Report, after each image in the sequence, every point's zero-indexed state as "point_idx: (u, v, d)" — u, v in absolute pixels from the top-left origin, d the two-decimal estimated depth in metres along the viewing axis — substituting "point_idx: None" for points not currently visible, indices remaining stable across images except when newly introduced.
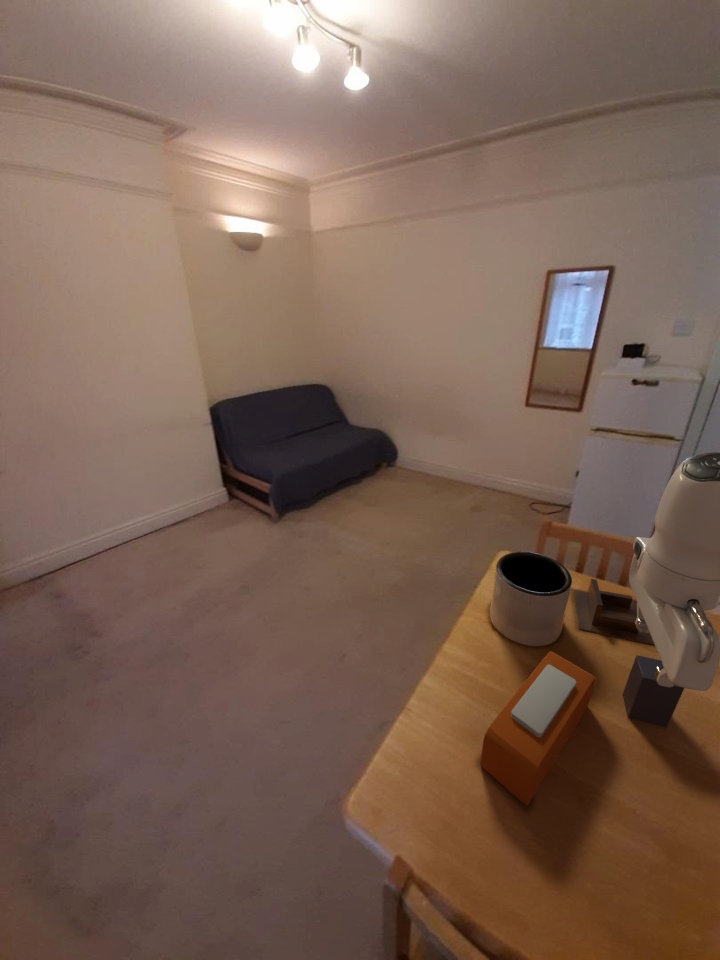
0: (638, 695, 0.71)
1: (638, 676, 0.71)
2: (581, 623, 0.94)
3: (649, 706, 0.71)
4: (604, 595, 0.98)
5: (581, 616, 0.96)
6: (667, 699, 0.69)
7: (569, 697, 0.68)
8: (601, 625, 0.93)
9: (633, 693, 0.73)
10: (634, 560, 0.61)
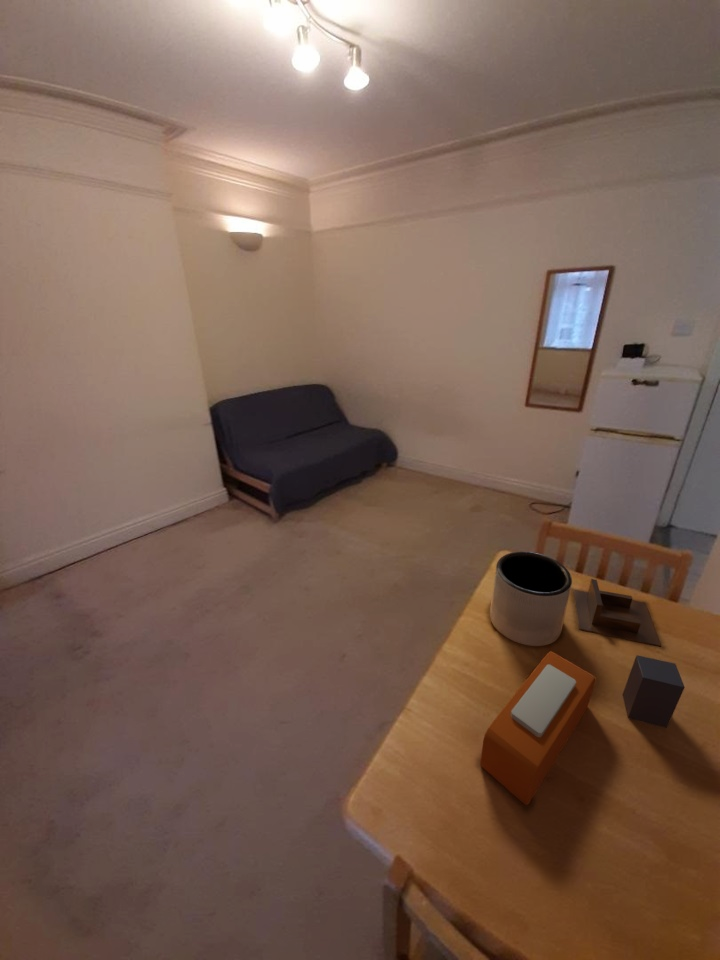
0: (638, 695, 0.71)
1: (638, 676, 0.71)
2: (581, 623, 0.94)
3: (649, 706, 0.71)
4: (604, 595, 0.98)
5: (581, 616, 0.96)
6: (667, 699, 0.69)
7: (569, 697, 0.68)
8: (601, 625, 0.93)
9: (633, 693, 0.73)
10: None
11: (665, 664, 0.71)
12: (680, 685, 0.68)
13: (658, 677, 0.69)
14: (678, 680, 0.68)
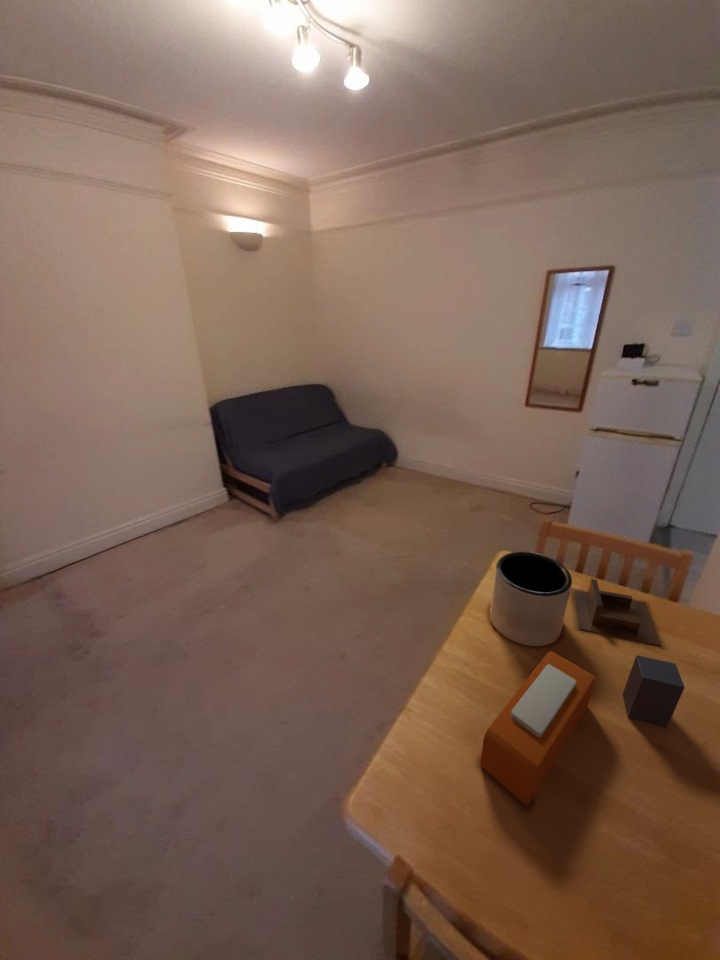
0: (638, 695, 0.71)
1: (638, 676, 0.71)
2: (581, 623, 0.94)
3: (649, 706, 0.71)
4: (604, 595, 0.98)
5: (581, 616, 0.96)
6: (667, 699, 0.69)
7: (569, 697, 0.68)
8: (601, 625, 0.93)
9: (633, 693, 0.73)
10: None
11: (665, 664, 0.71)
12: (680, 685, 0.68)
13: (658, 677, 0.69)
14: (678, 680, 0.68)
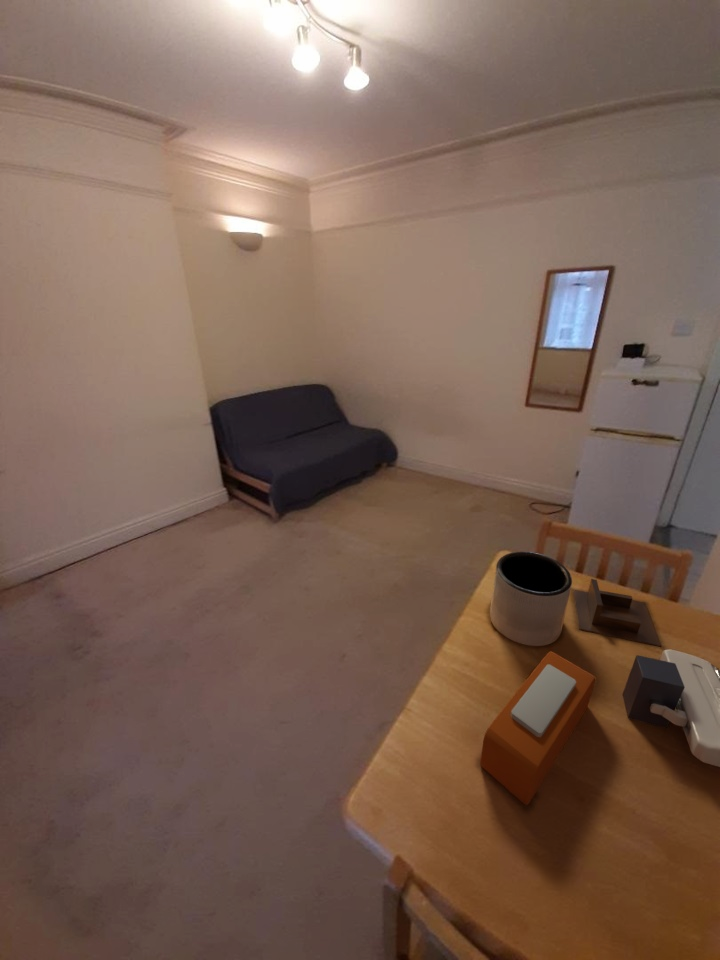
0: (638, 695, 0.71)
1: (637, 675, 0.71)
2: (581, 623, 0.94)
3: None
4: (604, 595, 0.98)
5: (581, 616, 0.96)
6: (667, 699, 0.69)
7: (569, 697, 0.68)
8: (601, 625, 0.93)
9: (633, 693, 0.73)
10: None
11: (665, 664, 0.71)
12: (680, 685, 0.68)
13: (658, 677, 0.69)
14: (678, 680, 0.68)
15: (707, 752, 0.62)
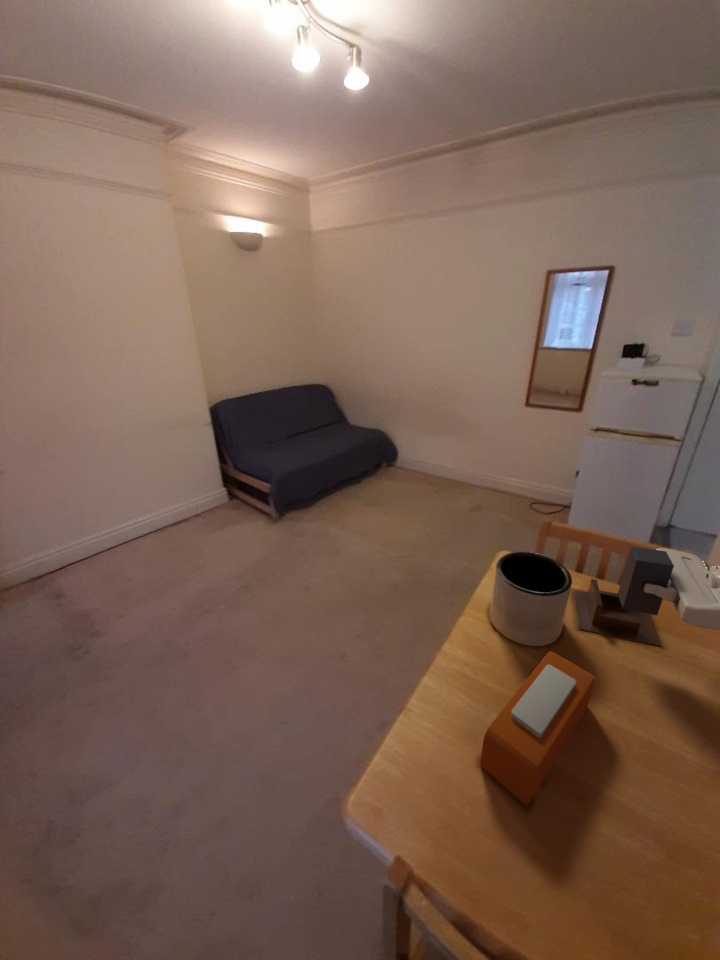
0: (633, 579, 0.79)
1: (632, 562, 0.79)
2: (581, 623, 0.94)
3: None
4: (604, 595, 0.98)
5: (581, 616, 0.96)
6: (659, 580, 0.77)
7: (569, 697, 0.68)
8: (601, 625, 0.93)
9: (628, 579, 0.80)
10: None
11: (657, 551, 0.79)
12: (670, 564, 0.75)
13: (650, 559, 0.77)
14: (668, 561, 0.76)
15: (694, 614, 0.70)
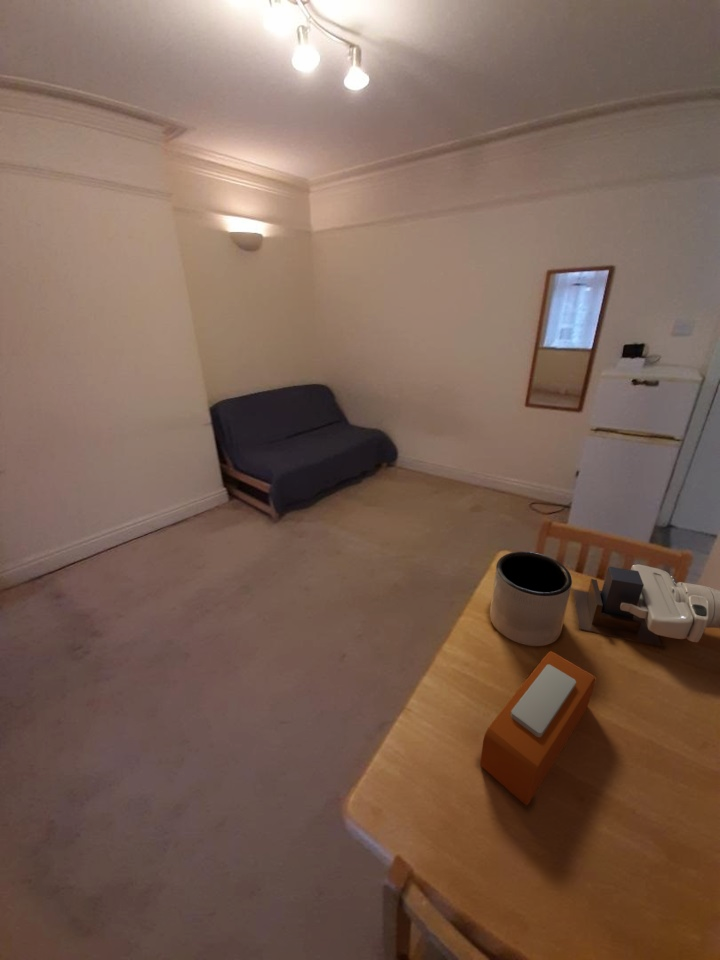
0: (609, 595, 0.91)
1: (609, 580, 0.92)
2: (581, 623, 0.94)
3: (618, 603, 0.92)
4: None
5: (581, 616, 0.96)
6: (631, 597, 0.90)
7: (569, 697, 0.68)
8: (601, 625, 0.93)
9: (606, 595, 0.93)
10: None
11: (630, 571, 0.92)
12: (640, 584, 0.88)
13: (624, 579, 0.90)
14: (639, 581, 0.89)
15: (658, 625, 0.83)
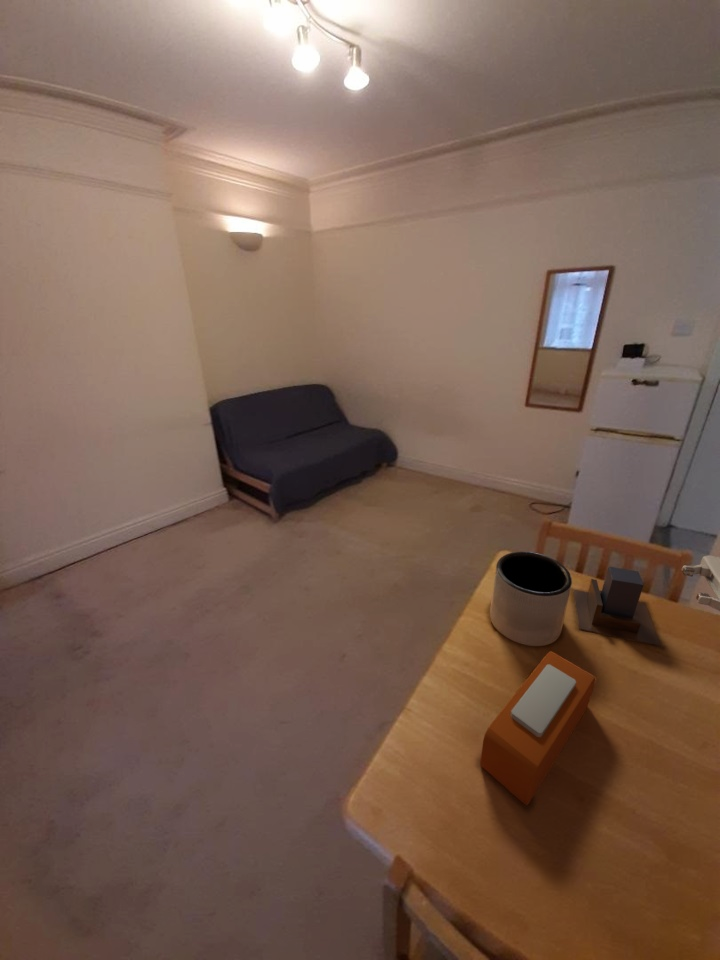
0: (609, 595, 0.91)
1: (609, 580, 0.92)
2: (581, 623, 0.94)
3: (618, 603, 0.92)
4: None
5: (581, 616, 0.96)
6: (631, 597, 0.90)
7: (569, 697, 0.68)
8: (601, 625, 0.93)
9: (606, 595, 0.93)
10: None
11: (630, 571, 0.92)
12: (640, 584, 0.88)
13: (624, 579, 0.90)
14: (639, 581, 0.89)
15: None
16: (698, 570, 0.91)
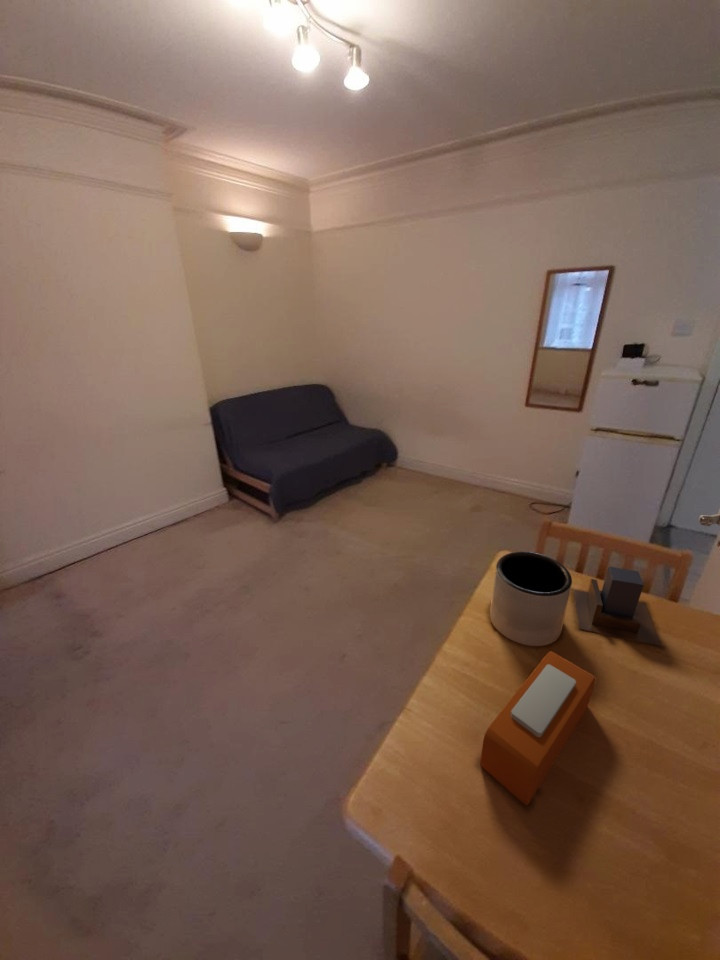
0: (609, 595, 0.91)
1: (609, 580, 0.92)
2: (581, 623, 0.94)
3: (618, 603, 0.92)
4: None
5: (581, 616, 0.96)
6: (631, 597, 0.90)
7: (569, 697, 0.68)
8: (601, 625, 0.93)
9: (606, 595, 0.93)
10: None
11: (630, 571, 0.92)
12: (640, 584, 0.88)
13: (624, 579, 0.90)
14: (639, 581, 0.89)
15: None
16: (717, 520, 0.84)
